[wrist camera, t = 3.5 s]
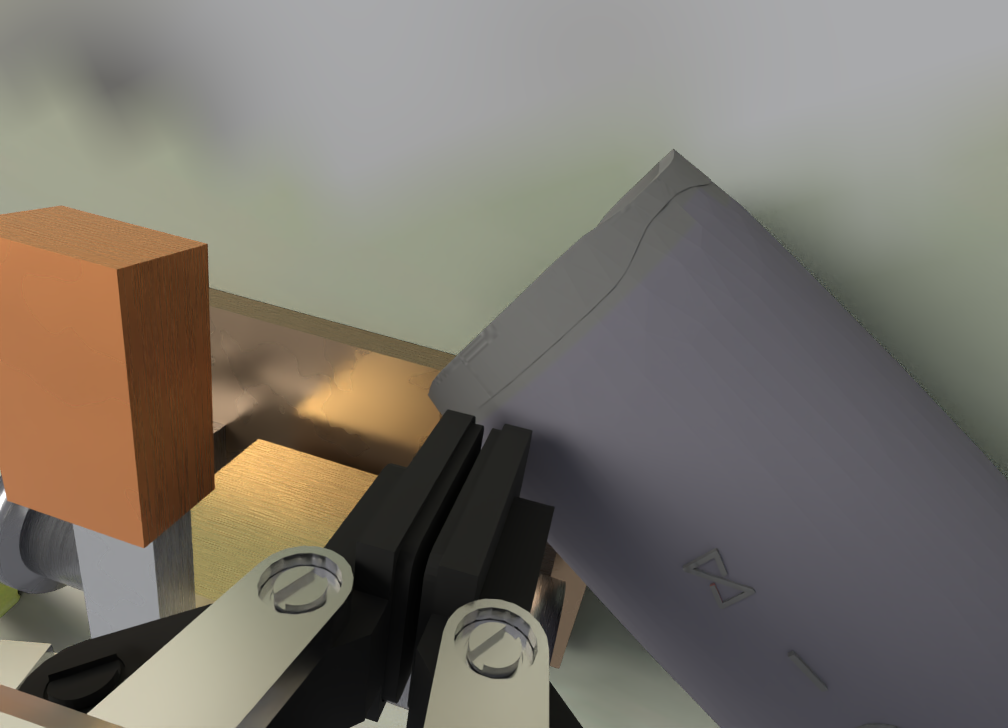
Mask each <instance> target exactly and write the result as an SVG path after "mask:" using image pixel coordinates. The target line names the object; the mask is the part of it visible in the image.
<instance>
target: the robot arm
mask: <svg viewBox="0 0 1008 728" xmlns="http://www.w3.org/2000/svg"><path fill="white" fill-rule="evenodd" d="M483 434H484V426H483V425H479V424H476V417H475V416H473V415H469V414H465V413H461V412H457V411H453V410H449V409H447V410H446V412H445V413H444V414H443V416H442V417H441V419H440V420H439V422H438V423H437V425H436V426H435V428H434V429H433V430H432V432H431V433H430V435H429V436H428V438H427V439H426V441H425V442H424V444H423V445H422V447H421V448H420V449H419V451H418V452H417V454H416V455H415V457H414V458H413V460H412V461H411V463H410V464H409V465H408V467H403V466H400V465H396V464H392V463H390V464H387V465H386V466H385V467H384V468H383V470H382V471H381V472H380V474H379V475H378V476H377V478H376V479H375V480H374V482H373V483H372V484H371V486H370V487H369V488H368V490H367V491H366V492H365V494H364V495H363V496H362V498H361V499H360V500H359V502H358V503H357V504H356V506H355V507H354V508H353V509H352V511H351V512H350V513H349V515H348V516H347V517H346V519H345V520H344V521H343V523H342V524H341V525H340V527H339V528H338V529H337V531H336V532H335V533H334V535H333V536H332V537H331V539H330V540H329V541H328V543H327V544H326V545H325V547H324V548H322V547H318V546H298V547H292V548H287V549H284V550H282V551H279V552H276V553H274V554H272V555H270V556H269V557H267V558H266V559H264V560H263V561H261V562H260V563H259V564H257V565H256V566H255V567H254V568H253V569H252V570H251V571H249V572H248V573H247V574H246V575H245V576H244V577H243V578H241V579H240V580H239V581H238V582H237V583H236V584H235V585H233V586H232V587H231V588H230V589H229V590H228V591H227V592H225V593H224V594H223V595H222V596H221V597H220V598H219V599H217V600H216V601H215V602H214V603H212V604H208V605H205V606H202V607H198V608H195V609H191V610H188V611H185V612H181V613H178V614H174V615H171V616H168V617H164V618H161V619H157V620H154V621H151V622H147V623H144V624H140V625H137V626H134V627H130V628H127V629H123V630H120V631H117V632H113V633H110V634H106V635H103V636H99V637H96V638H93V639H89V640H86V641H83V642H81V643H78V644H76V645H73V646H71V647H68V648H66V649H64V650H62V651H60V652H59V653H54V652H53V647H52V644H48V643H36V642H24V641H13V640H1V639H0V728H350V727H352V726H354V725H357V724H359V723H361V722H363V721H364V720H365V718H366V719H369V720H372V721H375V722H378V720H379V717H380V715H381V713H382V711H383V708H384V706H385V704H386V702H387V701H390V702H393V703H396V704H397V703H398V702H399V700H400V698H401V696H402V694H403V691H404V689H405V686H406V684H407V682H408V679H409V677H410V675H411V679H410V687H409V694H408V702H407V707H408V708H409V712H408V720H407V727H406V728H583V727H582V726H581V724H580V723H579V722H578V720H577V719H576V717H575V716H574V715H573V713H572V712H571V710H570V709H569V708H568V706H567V705H566V703H565V702H564V701H563V699H562V698H561V696H560V695H559V694H558V692H557V691H556V689H555V688H554V687H553V685H552V684H551V682H550V681H549V646H548V641H547V636H546V634H545V632H544V630H543V628H542V626H541V625H540V623H539V622H538V621H537V620H536V619H535V618H534V617H533V616H532V615H531V614H530V612H531V608H532V603H533V599H534V595H535V591H536V586H537V582H538V578H539V573H540V569H541V565H542V560H543V556H544V552H545V547H546V543H547V539H548V534H549V530H550V526H551V522H552V517H553V513H554V509H555V507H554V506H550V505H546V504H542V503H539V502H535V501H531V500H527V499H524V498H520V492H521V487H522V482H523V477H524V473H525V468H526V463H527V458H528V453H529V448H530V443H531V438H532V430H530V429H526V428H522V427H518V426H514V425H509V424H504V426H503V428H502V430H499V429H495V428H492V429H491V431H490V433H489V435H488V437H487V439H486V441H485V443H484V445H483V447H482V449H481V446H482V440H483Z"/></svg>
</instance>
